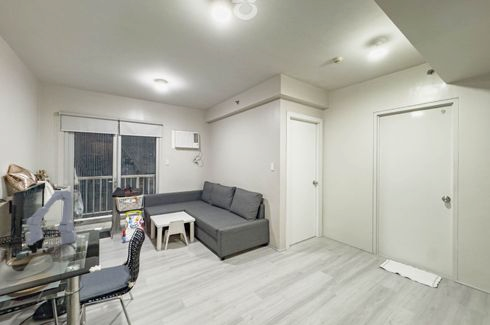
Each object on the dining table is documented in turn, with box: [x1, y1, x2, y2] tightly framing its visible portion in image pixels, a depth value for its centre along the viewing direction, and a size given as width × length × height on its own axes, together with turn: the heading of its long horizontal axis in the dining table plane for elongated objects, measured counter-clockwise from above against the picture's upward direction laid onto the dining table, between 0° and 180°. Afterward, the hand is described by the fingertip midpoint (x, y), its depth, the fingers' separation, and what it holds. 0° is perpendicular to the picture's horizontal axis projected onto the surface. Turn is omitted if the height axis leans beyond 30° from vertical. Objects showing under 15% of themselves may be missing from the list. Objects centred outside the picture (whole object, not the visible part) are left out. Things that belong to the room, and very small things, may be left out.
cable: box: [20, 245, 55, 256], centre depth 149 cm, size 18×3×3 cm, turn 114°
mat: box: [37, 244, 64, 250], centre depth 157 cm, size 22×6×1 cm, turn 114°
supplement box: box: [24, 229, 45, 249], centre depth 164 cm, size 7×7×13 cm
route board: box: [13, 246, 59, 261], centre depth 149 cm, size 21×9×4 cm, turn 114°
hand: (37, 250), depth 149 cm, fingers open, 7 cm apart
